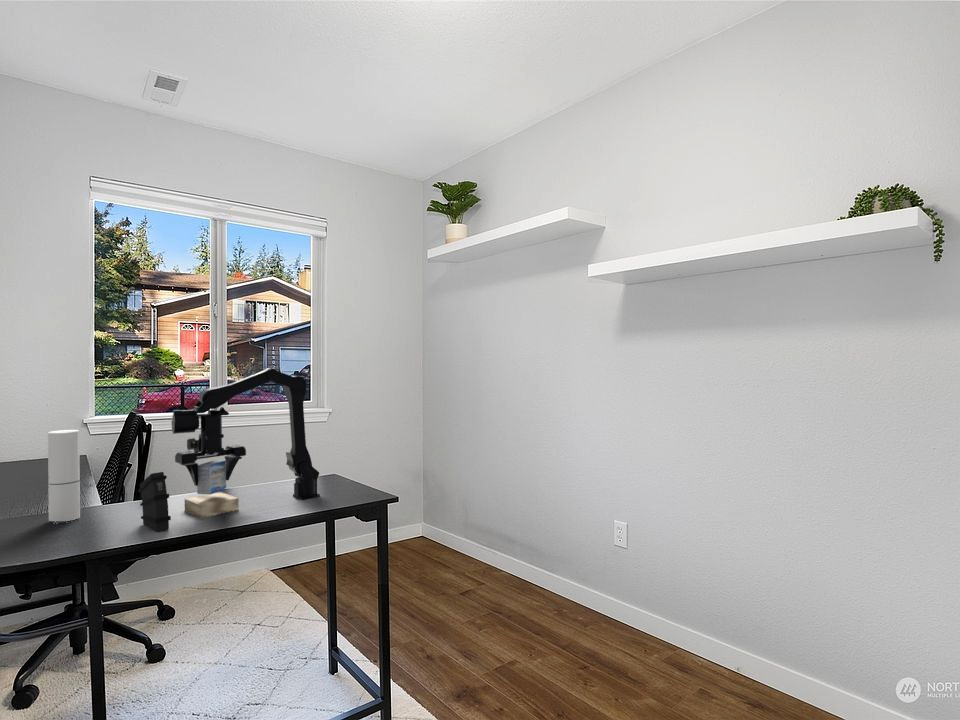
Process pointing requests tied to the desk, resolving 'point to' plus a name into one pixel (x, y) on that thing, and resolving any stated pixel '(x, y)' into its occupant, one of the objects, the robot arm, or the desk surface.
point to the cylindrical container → (63, 475)
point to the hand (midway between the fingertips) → (212, 482)
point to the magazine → (155, 502)
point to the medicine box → (211, 477)
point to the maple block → (211, 504)
